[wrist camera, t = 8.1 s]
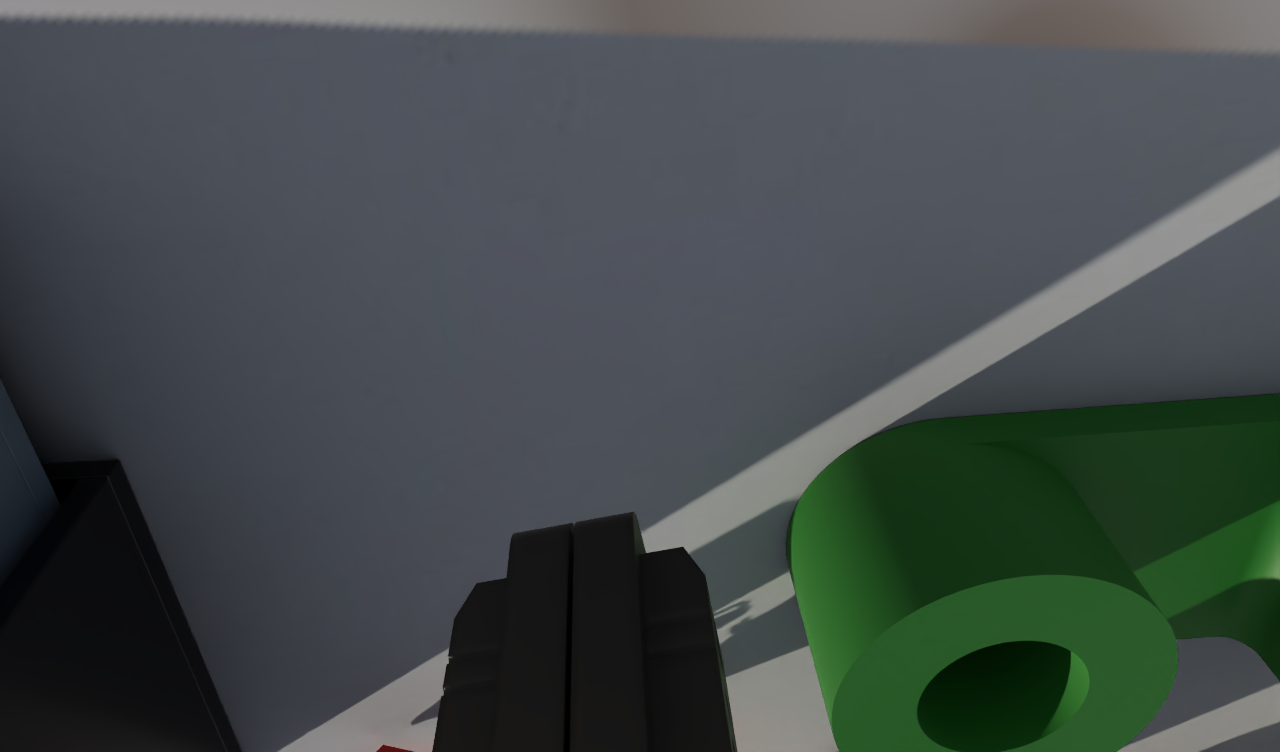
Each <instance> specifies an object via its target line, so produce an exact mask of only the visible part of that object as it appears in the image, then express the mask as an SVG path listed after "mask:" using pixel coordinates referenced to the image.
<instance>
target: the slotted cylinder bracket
mask: <svg viewBox="0 0 1280 752" xmlns="http://www.w3.org/2000/svg"><path fill="white" fill-rule="evenodd" d="M786 556H787V562H788V567H789V571H790V574H791V578H792V582H793V586H794V589H795V593H796V597H797V601H798V604H799V608H800V612H801V616H802V619H803V623H804V627H805V631H806V634H807V638H808V642H809V646H810V650H811V653H812V657H813V661H814V665H815V668H816V672H817V676H818V680H819V683H820V687H821V691H822V695H823V698H824V702H825V706H826V710H827V713H828V717H829V721H830V725H831V729H832V732H833V736H834V739H835V742H836V745H837V747H838V749H839V751H840V752H1117V751H1118V750H1119V749H1121V748H1122V747H1123V746H1125V745H1126V744H1127V743H1129V742H1130V741H1131V740H1132V739H1133V738H1134V737H1135V736H1137V735H1138V734H1139V733H1140V732H1141V731H1142V730H1143V729H1144V728H1145V727H1146V726H1147V725H1148V724H1149V723H1150V721H1151V720H1152V719H1153V718H1154V716H1155V715H1156V714H1157V713H1158V711H1159V710H1160V708H1161V707H1162V705H1163V704H1164V702H1165V700H1166V699H1167V697H1168V695H1169V693H1170V690H1171V688H1172V686H1173V683H1174V680H1175V677H1176V673H1177V666H1178V647H1177V642H1176V639H1189V638H1202V637H1215V636H1221V637H1228V638H1232V639H1235V640H1238V641H1240V642H1242V643H1244V644H1246V645H1247V646H1249V647H1250V648H1252V649H1253V650H1254V651H1255V652H1257V653H1258V654H1259V656H1260V657H1261V658H1262V659H1263V661H1264V662H1265V663H1266V664H1267V666H1268V667H1269V668H1270V670H1271V671H1272V672H1273V673H1274V675H1275V676H1276V677H1277V678H1278V680H1279V681H1280V394H1270V395H1256V396H1242V397H1228V398H1215V399H1201V400H1187V401H1174V402H1160V403H1146V404H1132V405H1119V406H1105V407H1091V408H1077V409H1064V410H1050V411H1036V412H1023V413H1009V414H995V415H981V416H968V417H954V418H941V419H932V420H926V421H920V422H915V423H911V424H907V425H903V426H900V427H897V428H894V429H891V430H888V431H885V432H883V433H881V434H878V435H876V436H874V437H871V438H869V439H867V440H865V441H864V442H862V443H860V444H858V445H856V446H855V447H853V448H851V449H850V450H848V451H847V452H845V453H844V454H842V455H841V456H840V457H838V458H837V459H836V460H835V461H833V462H832V463H831V464H829V465H828V466H827V467H826V468H825V469H824V470H823V471H822V472H821V473H820V474H819V475H818V476H817V477H816V478H815V480H814V481H813V482H812V483H811V484H810V485H809V487H808V488H807V489H806V491H805V492H804V494H803V495H802V497H801V498H800V500H799V502H798V504H797V506H796V507H795V509H794V512H793V514H792V517H791V519H790V523H789V527H788V531H787V538H786Z"/></svg>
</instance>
